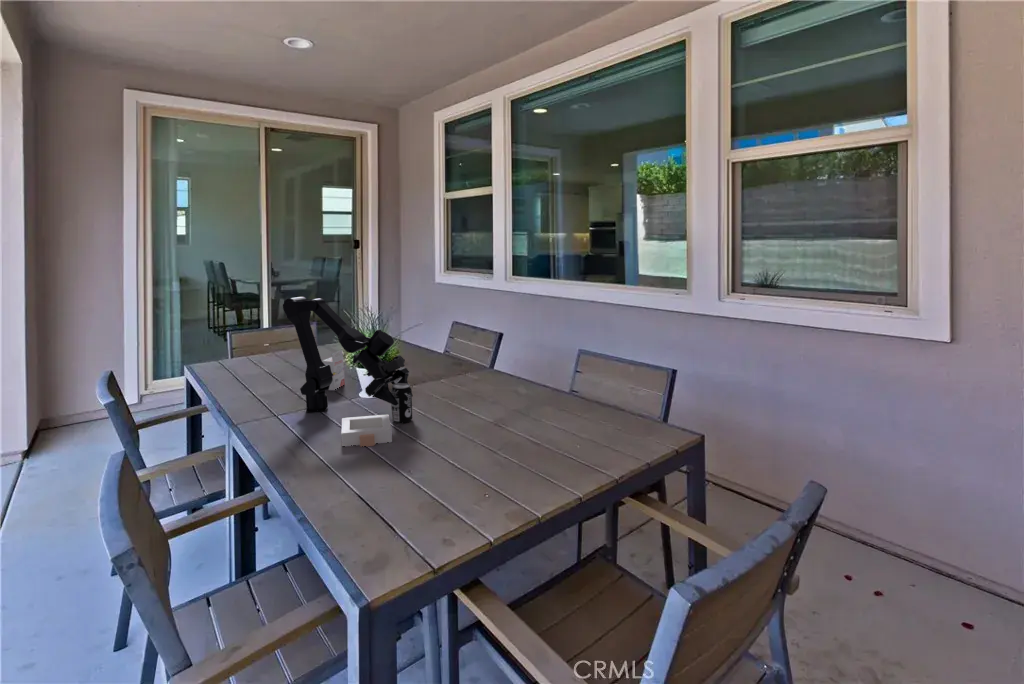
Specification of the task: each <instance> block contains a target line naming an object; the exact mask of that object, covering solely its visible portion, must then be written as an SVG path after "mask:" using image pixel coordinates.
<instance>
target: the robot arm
mask: <svg viewBox="0 0 1024 684" xmlns="http://www.w3.org/2000/svg"><path fill="white" fill-rule="evenodd" d="M282 309H283V312H284V314H285V317H286V318H287V319H288V320H289V321H290V323H291V324H292V325H294V329H295V332H296V335H297V337H298V338H297V339H298V341H299V342H298V343H299V344H300V347H301V351H302V354H303V358H304V360H305V365H306V370H305V381H306V382H304V384H303V385H302V386H301V387H300V389H299V390H300V393H301V395H303V396H305V405H306V409H305V412H306V413H317V412H318V413H319V412H326V411H327V409H328V406H329V401H328V399H329V398H328V394H326V391H330V390H329V387H330V384H331V383H332V381H333V378H332V376H333V374H332V372H331V367H330V365H325V364H324V363H323V362H322V361H323V359H322V358H321V355H320V351H319V348H318V345H317V341H316V339H315V335H314V332H313V329H312V325H311V322H310V321H311V320H310V319H311V315H312V312H313V313H314V314H315V315H316V316H317V317H318V318H319V319H320V320H321V321H322V322H323V323H324V325H326V326H327V327H328V328H329V329H330V330H331V331H332V332H333V333H334V334H335V335H336V337H337V339H338V342H339V345H340V346H341V347H342V348H343V350H344V351H345V352H347V353H348V354H349V353H351V354H353V353H356V352H358V353H357V354H353V358H352V364H353V365H356V364H358V363H360V364H361V365H362V367H363V368H364V369H365V370H366V371H367V373H366V375H367V377H372V379H373V380H371V382H370V383H369V384H368V385H367V386H366V387H365V390H364V391H365V394H366V395H367V396H368V397H369V398H370V397H372V398H376V399H379V400H381V401H384V402H386V403H389V404H393V405H395V406H397V405H398V402H397V400H396V399H395V398H394V396H393V395H392V393H391V390H389V384H392V385H394V384H398V383H407V384H409V383H408V377H409V374H410V370H409V369H408V368H407V367H405V362H406V360H405V358H404V357H403V356H402V355H400V354H399V355H398V354H397V355H396V356H395V357H393V359H392V360H390V361H387V360H386V359H384V360H382V359H381V358H380V357H381V356H384V355H385V353H386V352H387V351H389V349H390V348H391V347H393V345H394V344H395V341H394V338H393V337H392V335H390V334H388V333H387V332H386V331H385V332H384V331H382V329H376V330H375V331H374V333H373V334H372V336H371V337H369V336H366V334H364V333H363V332H361V331H359V330H358V329H357V328H354V327H352V326H350V325H348V324H347V323H346V321H344V320H343V319H342V318H341V317H340V316H339V315H338V313H336V312H335V310H333V309H332V308H331V306H329V305H328V304H327V302H326V300H325V299H323V298H309V299H308V298H307V297H305V296H297V297H289V298H286V299H285V300H284V302H283V303H282ZM412 397H413V394H412Z"/></svg>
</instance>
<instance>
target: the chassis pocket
mask: <svg viewBox="0 0 1024 684" xmlns="http://www.w3.org/2000/svg"><path fill="white" fill-rule="evenodd" d="M340 432H341V433H340V435H341V447H342V446H345V447H354V446H353V445H356V446H359V447H360V448H364V446H366V447H375V445H377V444H376V443H378V444H386V443H387V442H389V443H393V435H392V434H393V433H392V432H393V431H392V424H391V419H390V415H389V414H378V415H377V414H376V415H363V416H352V417H342V418H341V431H340ZM351 445H352V446H351ZM362 446H363V447H362Z"/></svg>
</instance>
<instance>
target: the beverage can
mask: <svg viewBox="0 0 1024 684" xmlns="http://www.w3.org/2000/svg"><path fill="white" fill-rule="evenodd" d="M391 386H392V387H391V389H390V392H391V393H392V395H393V396H394V398H395V399H396V400H397V402H398V405H397V406H395V405H393V404H391V403H390V404H391V406H390V407H391V421H393V423H395V424H398V423H403V424H407V422H408V423H410V422H411V420H413V396H412V395H413V393H412V392H413V391H412V388H411V384H410V383H408V384H407V383H398V384H392V385H391Z"/></svg>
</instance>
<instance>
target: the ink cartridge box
mask: <svg viewBox="0 0 1024 684" xmlns="http://www.w3.org/2000/svg"><path fill="white" fill-rule="evenodd" d="M344 360H345V359H344V354H343V350H342V349H340V350H338V351H334V352H333V353H331V357H328V358H326V359H322V362H323V363H324V364H325V365H330V367H331V372H332V374H333V376H332V378H333V381H332V383H331V384H330V387H329V390H328V391H336V390H338V389H340V388H341V386H342V387H344V386H345V385H346V384H345V383H346V382H345V365H344ZM343 385H344V386H343ZM339 387H340V388H339ZM337 388H338V389H337ZM335 389H336V390H335Z"/></svg>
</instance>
